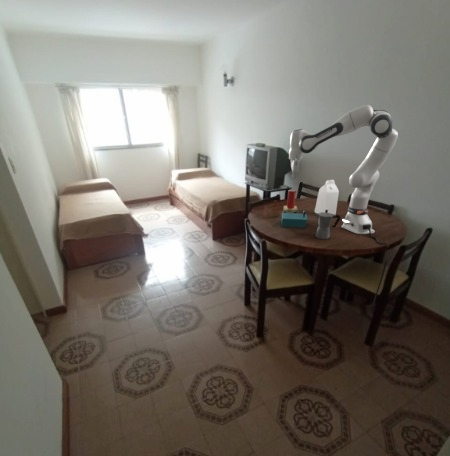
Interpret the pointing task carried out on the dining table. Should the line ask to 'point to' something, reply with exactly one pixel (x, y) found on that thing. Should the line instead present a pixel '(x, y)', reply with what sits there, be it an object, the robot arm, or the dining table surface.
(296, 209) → the stool
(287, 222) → the teal open box
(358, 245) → the dining table surface
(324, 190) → the milk
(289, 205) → the can
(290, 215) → the lid
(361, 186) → the robot arm
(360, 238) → the dining table surface
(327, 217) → the coffeepot
